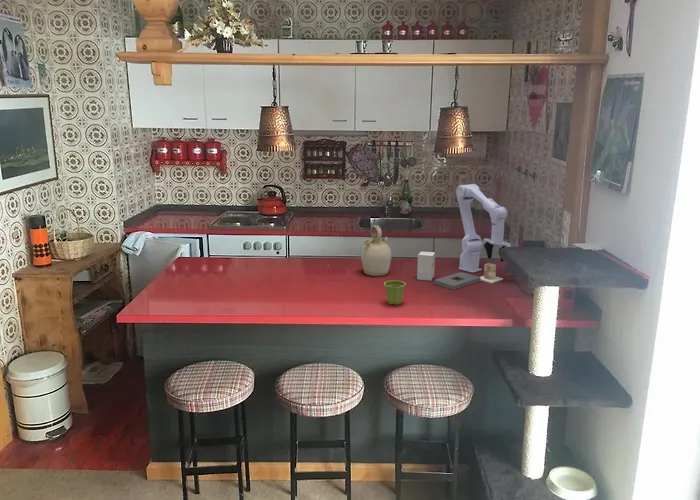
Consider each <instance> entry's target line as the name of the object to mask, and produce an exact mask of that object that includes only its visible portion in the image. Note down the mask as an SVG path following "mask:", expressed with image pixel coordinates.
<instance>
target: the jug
mask: <svg viewBox="0 0 700 500" xmlns="http://www.w3.org/2000/svg"><path fill="white" fill-rule="evenodd" d="M376 233H377V234H376ZM382 235H383V233H382V229H381V227H380V226H379V225H378V224H373V225H372V226H371V228H370V236H371V238H372V240H371V239H370V238H366V239H364V240H363V246H362V249H361V253H360V258H361V264H362V268H363V273H364V274H366V275H368V276H372V277H379V276H380V277H382V276H385V275H387V274H388V273H389V270H390V265H391V262H392V261H391V260H392V249H391V248H390V246H389V244H387V242H388V236H385V237H384V238H382ZM381 238H382V240H381Z"/></svg>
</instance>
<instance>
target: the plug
mask: <svg viewBox="0 0 700 500" xmlns="http://www.w3.org/2000/svg"><path fill="white" fill-rule="evenodd" d="M496 273H497V264H496V263H490V262H488V263H485V264H484V267H483V276H484V278H485V279H489V280H492V279H495V278H496V277H497V275H496Z"/></svg>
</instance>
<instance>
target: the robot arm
mask: <svg viewBox="0 0 700 500" xmlns="http://www.w3.org/2000/svg"><path fill="white" fill-rule="evenodd" d="M455 194H456V199H457V202H458V206H459V211H460V217H461V222H462V225H463V231H464V237H463V238H462V239H461V250H462V252H461V254H460V257H459V267H458V270H462V271H465V272H469V273H471V274H473V273H476V272H481V271H482V270H483V268H480V267H479V266H480V254H481V253H482V251H484V250H485V253H486V255H487V259H492V257H493V249H494V246H500V247H499V250H500V249H501V248H504V247H511V248H512V243H509V242H507V241H504V235H505V234H504V233H505V220H506V218H507V217H508V214H509V213H508V210H507V208H506V207H505V206H501V205H500V204H498V203H497V202H496V201H494V199H493V198H490V197H489V198H488V197H486V195H485V194H484V193H483V192H482V191H481V190H480V186H478V185H477V184H476V183H473V184H472V183H471V184H459V185H458V186H457V187H456V191H455ZM474 199H475V200H476V201H478V202H479V203H481V204H482V208H483V209H484V210H485V211H486V212H487V213H489V217H490V222H491V235H490V236H491V237H490V238H487V237H485V238H484V239H483V241H482V239H481V236H480V235H478V233H476V228H475V223H474V218H473V214H472V209H471V202H472V201H473V200H474ZM505 261H506V259H505V260H503V259H502V258H501V257H500V262H501V263H502V262H505Z"/></svg>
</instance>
